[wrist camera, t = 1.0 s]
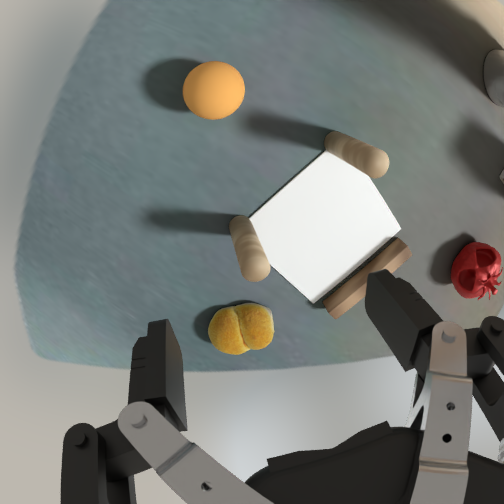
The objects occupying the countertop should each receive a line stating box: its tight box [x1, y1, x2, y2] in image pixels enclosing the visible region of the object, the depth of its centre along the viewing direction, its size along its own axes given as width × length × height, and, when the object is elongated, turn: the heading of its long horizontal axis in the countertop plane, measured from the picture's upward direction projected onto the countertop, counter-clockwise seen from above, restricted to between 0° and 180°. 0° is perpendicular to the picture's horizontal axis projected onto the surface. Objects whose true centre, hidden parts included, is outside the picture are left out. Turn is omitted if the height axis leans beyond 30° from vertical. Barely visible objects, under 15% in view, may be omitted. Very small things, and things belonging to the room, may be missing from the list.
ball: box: [183, 61, 245, 119], centre depth 26 cm, size 6×6×6 cm
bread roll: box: [208, 303, 274, 355], centre depth 42 cm, size 8×9×4 cm
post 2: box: [324, 131, 389, 178], centre depth 29 cm, size 3×3×9 cm
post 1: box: [229, 215, 270, 282], centre depth 32 cm, size 3×3×9 cm
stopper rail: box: [323, 238, 412, 319], centre depth 42 cm, size 14×2×2 cm, turn 132°
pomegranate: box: [451, 242, 503, 300], centre depth 43 cm, size 10×10×9 cm
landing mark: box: [249, 150, 401, 304], centre depth 38 cm, size 16×16×1 cm
